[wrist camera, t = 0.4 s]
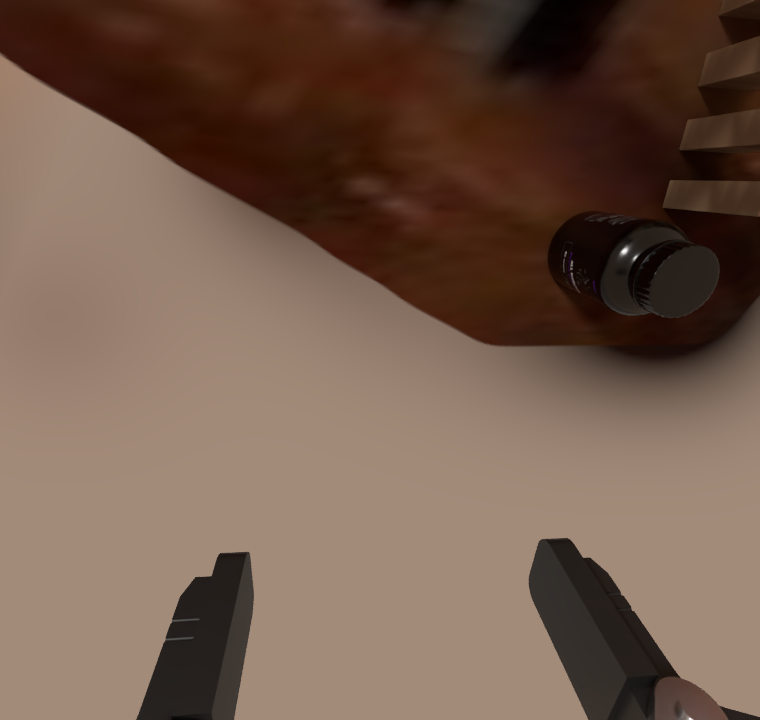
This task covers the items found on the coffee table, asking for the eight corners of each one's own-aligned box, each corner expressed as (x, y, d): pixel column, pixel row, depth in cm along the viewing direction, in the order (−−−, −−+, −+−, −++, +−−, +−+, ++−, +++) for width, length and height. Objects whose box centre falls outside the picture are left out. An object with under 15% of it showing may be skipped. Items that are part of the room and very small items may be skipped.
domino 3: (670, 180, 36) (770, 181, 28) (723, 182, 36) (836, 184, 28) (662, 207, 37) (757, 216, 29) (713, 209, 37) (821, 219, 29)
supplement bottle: (529, 266, 38) (610, 303, 27) (577, 194, 36) (687, 203, 25) (585, 301, 40) (682, 349, 29) (634, 235, 38) (759, 259, 27)
